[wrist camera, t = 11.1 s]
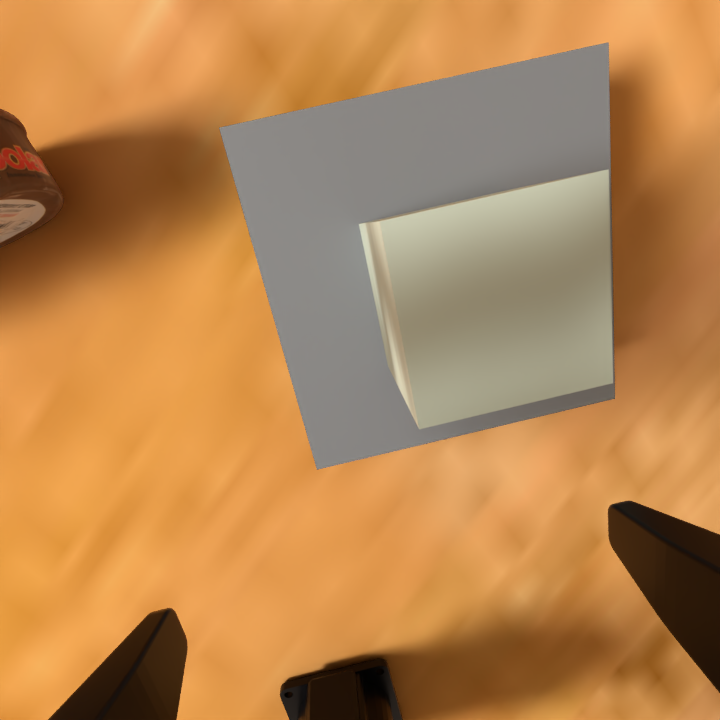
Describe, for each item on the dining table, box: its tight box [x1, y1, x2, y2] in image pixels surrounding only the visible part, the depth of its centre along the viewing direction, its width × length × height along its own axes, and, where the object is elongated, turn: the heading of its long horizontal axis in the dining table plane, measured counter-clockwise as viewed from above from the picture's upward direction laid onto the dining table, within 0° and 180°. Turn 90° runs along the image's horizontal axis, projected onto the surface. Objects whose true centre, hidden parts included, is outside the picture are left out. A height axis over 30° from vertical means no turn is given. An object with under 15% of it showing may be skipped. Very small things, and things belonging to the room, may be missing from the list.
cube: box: [359, 169, 613, 429], centre depth 12 cm, size 5×5×5 cm
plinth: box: [219, 42, 615, 470], centre depth 16 cm, size 12×12×4 cm
